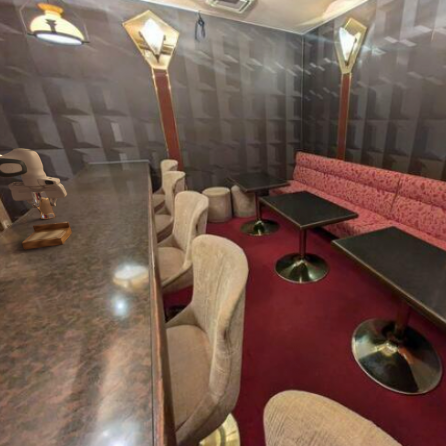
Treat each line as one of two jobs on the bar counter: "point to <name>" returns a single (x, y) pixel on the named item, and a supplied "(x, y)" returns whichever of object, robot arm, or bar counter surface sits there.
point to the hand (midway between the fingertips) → (44, 206)
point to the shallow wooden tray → (48, 235)
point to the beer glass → (43, 205)
